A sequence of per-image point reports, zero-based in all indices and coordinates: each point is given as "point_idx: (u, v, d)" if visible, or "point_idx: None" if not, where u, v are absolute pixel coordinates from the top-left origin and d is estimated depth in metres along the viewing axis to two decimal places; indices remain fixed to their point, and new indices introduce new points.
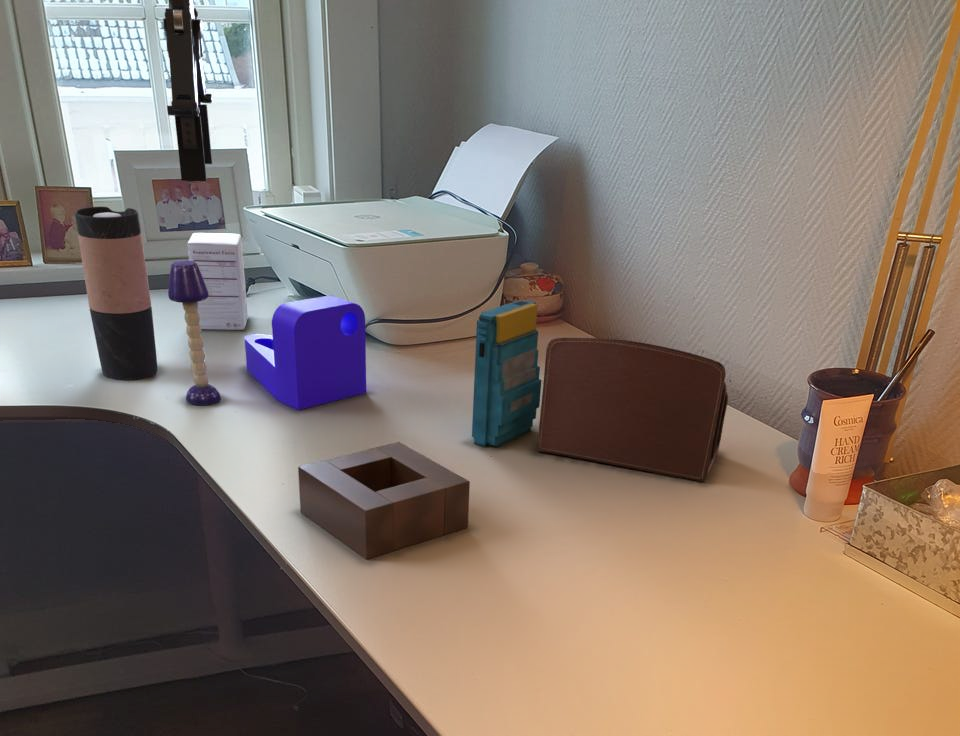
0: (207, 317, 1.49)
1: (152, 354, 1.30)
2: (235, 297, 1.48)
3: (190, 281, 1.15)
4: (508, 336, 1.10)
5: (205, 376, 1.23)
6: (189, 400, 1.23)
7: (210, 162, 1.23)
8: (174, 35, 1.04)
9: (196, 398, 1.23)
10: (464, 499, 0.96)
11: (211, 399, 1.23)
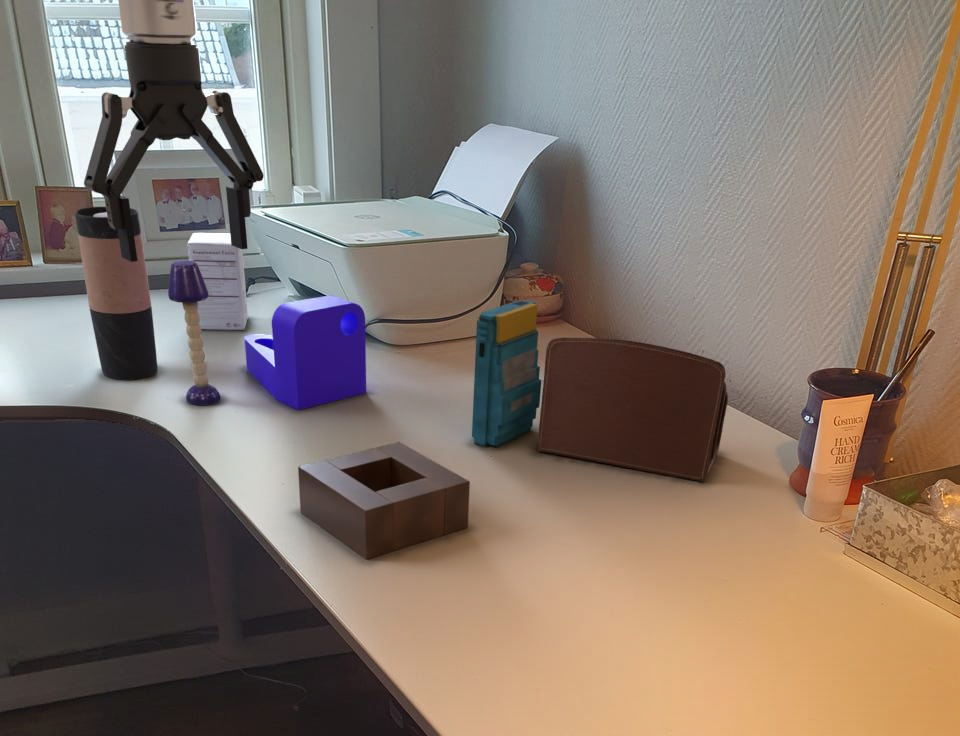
0: (207, 317, 1.49)
1: (152, 354, 1.30)
2: (235, 297, 1.48)
3: (190, 281, 1.15)
4: (508, 336, 1.10)
5: (205, 376, 1.23)
6: (189, 400, 1.23)
7: (241, 247, 1.18)
8: (104, 118, 1.04)
9: (196, 398, 1.23)
10: (464, 499, 0.96)
11: (211, 399, 1.23)
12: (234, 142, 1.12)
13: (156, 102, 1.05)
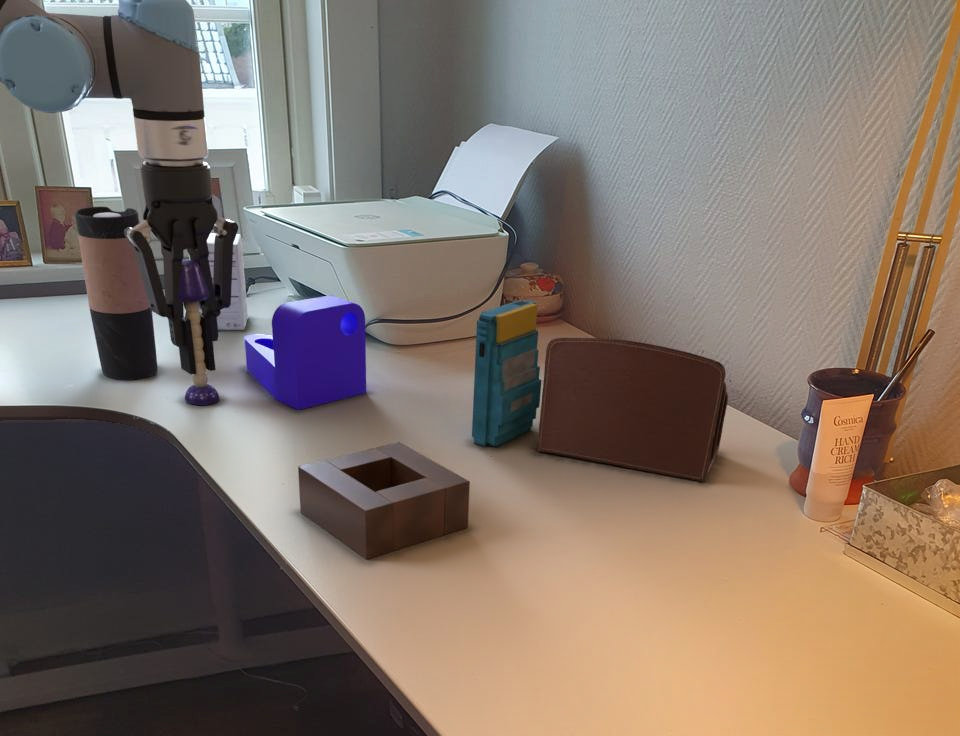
0: None
1: (152, 354, 1.30)
2: (235, 297, 1.48)
3: (191, 280, 1.15)
4: (508, 336, 1.10)
5: (204, 376, 1.23)
6: (188, 399, 1.23)
7: (209, 369, 1.22)
8: (136, 251, 1.12)
9: (195, 398, 1.23)
10: (464, 499, 0.96)
11: (210, 399, 1.23)
12: (220, 265, 1.18)
13: (166, 211, 1.11)
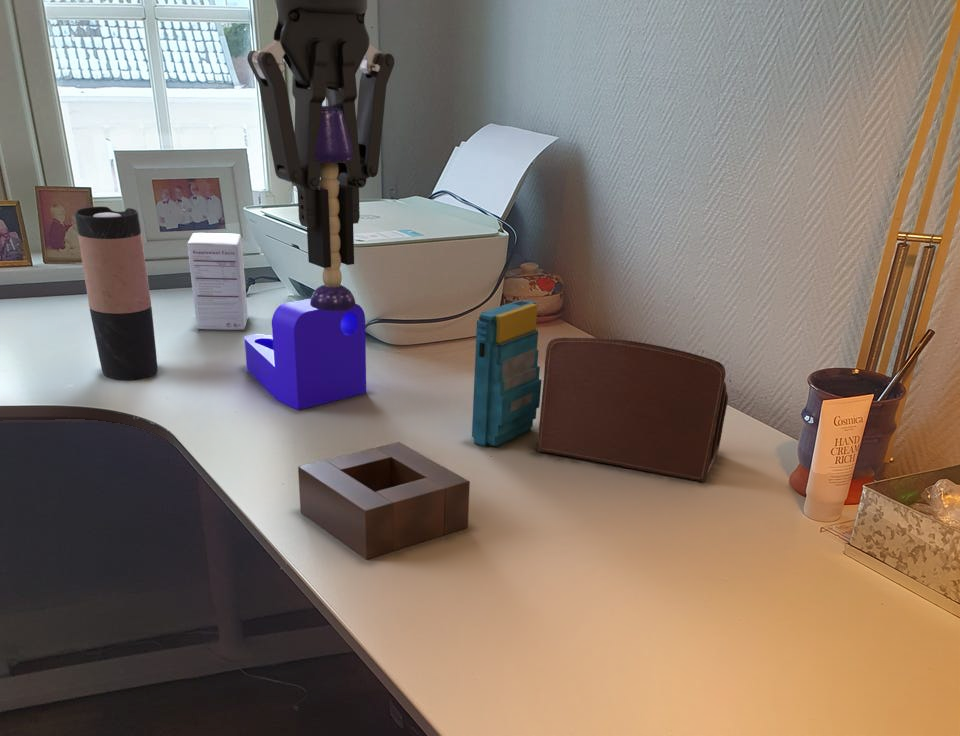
0: (207, 317, 1.49)
1: (152, 354, 1.30)
2: (235, 297, 1.48)
3: (334, 131, 0.84)
4: (508, 336, 1.10)
5: (339, 272, 0.92)
6: (316, 304, 0.92)
7: (346, 262, 0.91)
8: (263, 87, 0.81)
9: (326, 301, 0.92)
10: (464, 499, 0.96)
11: (345, 303, 0.92)
12: (368, 115, 0.87)
13: (306, 27, 0.80)
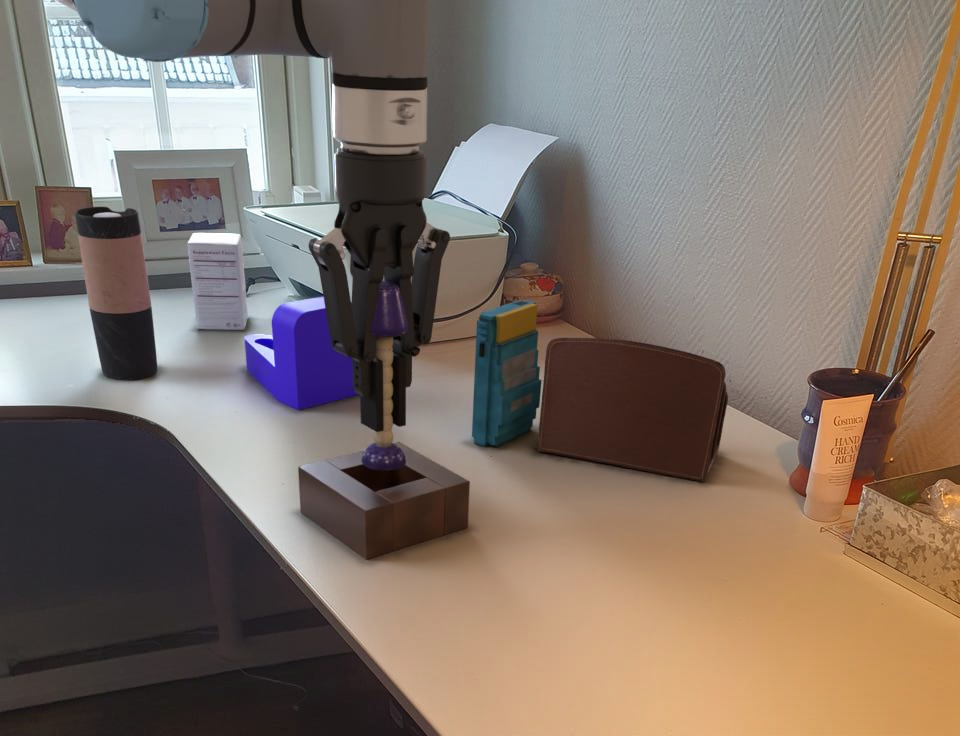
0: (207, 317, 1.49)
1: (152, 354, 1.30)
2: (235, 297, 1.48)
3: (390, 308, 0.86)
4: (508, 336, 1.10)
5: (390, 433, 0.93)
6: (368, 463, 0.93)
7: (398, 424, 0.93)
8: (323, 271, 0.83)
9: (378, 462, 0.93)
10: (464, 499, 0.96)
11: (396, 463, 0.93)
12: (423, 288, 0.88)
13: (367, 216, 0.81)
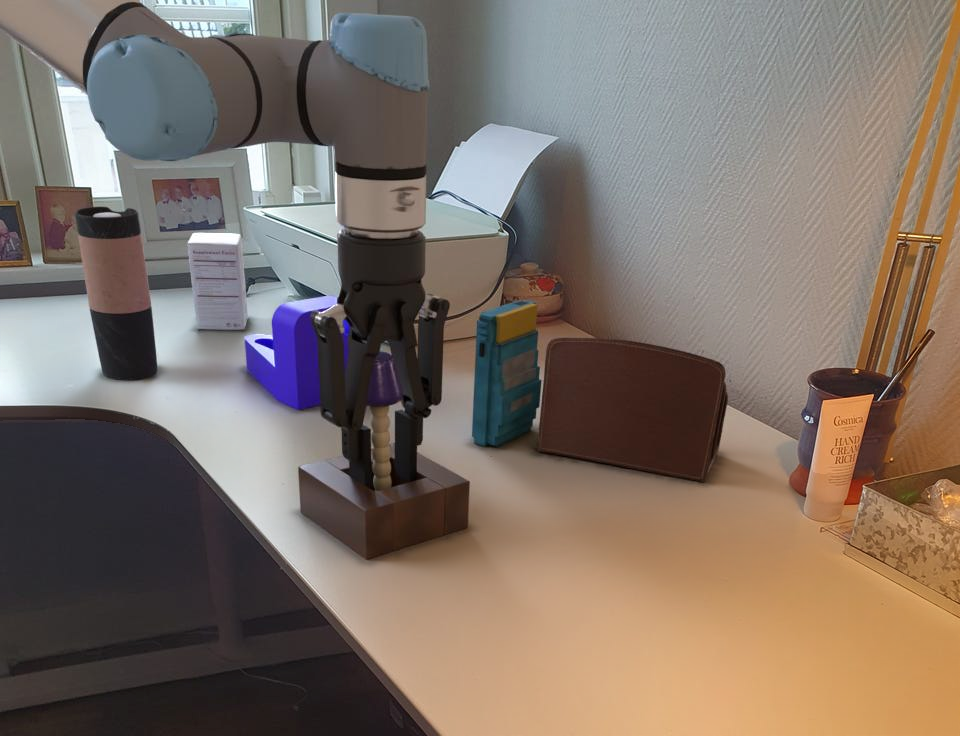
0: (207, 317, 1.49)
1: (152, 354, 1.30)
2: (235, 297, 1.48)
3: (385, 379, 0.89)
4: (508, 336, 1.10)
5: None
6: None
7: (409, 480, 0.97)
8: (321, 342, 0.85)
9: None
10: (464, 499, 0.96)
11: None
12: (429, 354, 0.92)
13: (369, 296, 0.85)
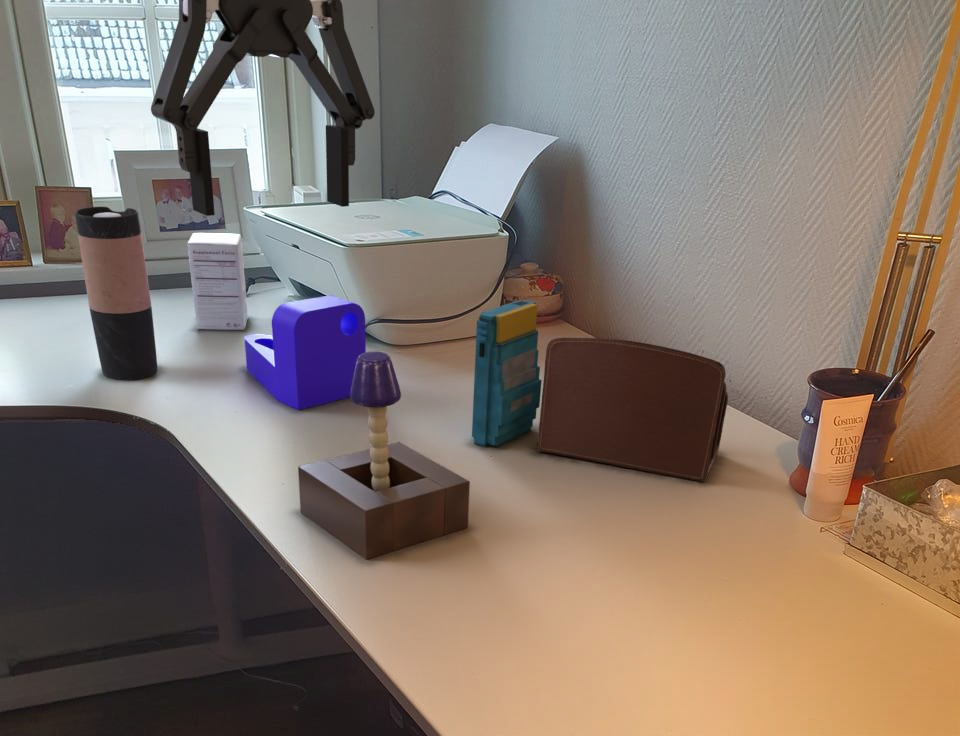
0: (207, 317, 1.49)
1: (152, 354, 1.30)
2: (235, 297, 1.48)
3: (382, 380, 0.88)
4: (508, 336, 1.10)
5: None
6: None
7: (341, 204, 0.93)
8: (181, 22, 0.79)
9: None
10: (464, 499, 0.96)
11: None
12: (342, 66, 0.87)
13: (250, 4, 0.80)
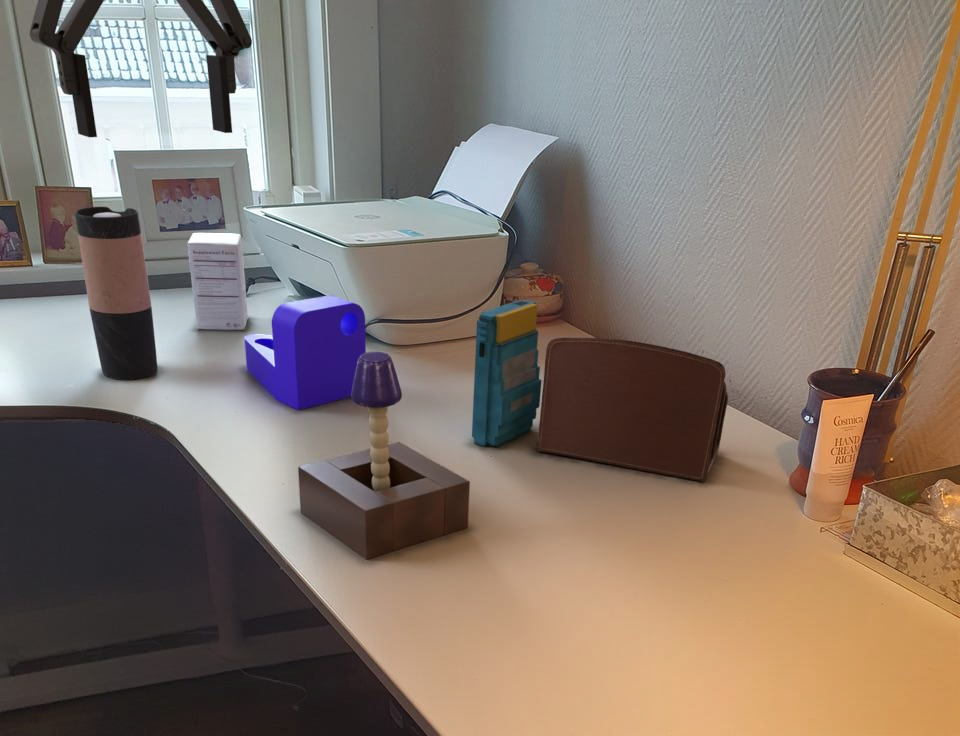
0: (207, 317, 1.49)
1: (152, 354, 1.30)
2: (235, 297, 1.48)
3: (383, 380, 0.88)
4: (508, 336, 1.10)
5: None
6: None
7: (224, 130, 0.98)
8: None
9: None
10: (464, 499, 0.96)
11: None
12: None
13: None
